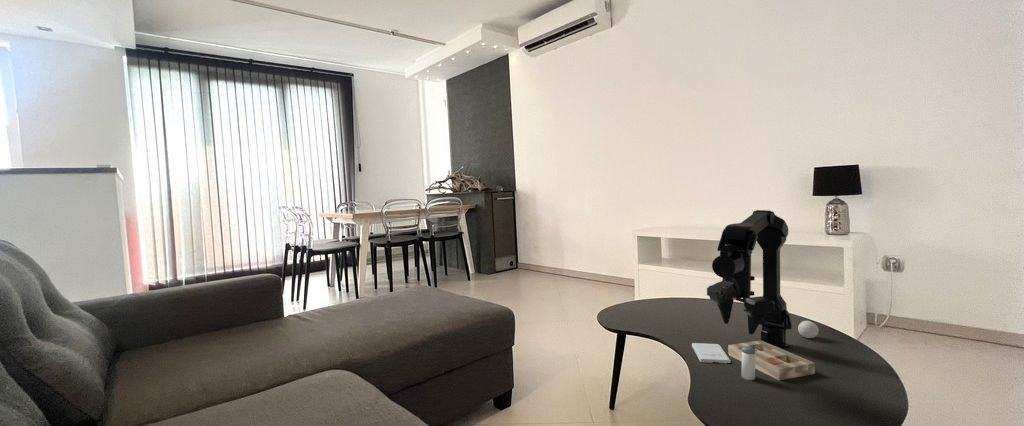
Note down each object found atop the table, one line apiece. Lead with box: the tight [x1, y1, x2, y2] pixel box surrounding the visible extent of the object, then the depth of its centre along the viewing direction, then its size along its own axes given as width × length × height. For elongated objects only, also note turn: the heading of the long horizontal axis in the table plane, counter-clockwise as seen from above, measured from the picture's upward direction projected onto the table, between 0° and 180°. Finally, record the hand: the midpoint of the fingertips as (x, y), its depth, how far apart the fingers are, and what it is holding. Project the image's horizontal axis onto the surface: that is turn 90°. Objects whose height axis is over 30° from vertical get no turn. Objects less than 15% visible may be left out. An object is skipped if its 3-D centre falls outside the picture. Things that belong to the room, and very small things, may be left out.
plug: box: [740, 346, 756, 381], centre depth 117 cm, size 3×3×8 cm
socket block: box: [727, 339, 816, 381], centre depth 126 cm, size 12×18×3 cm, turn 15°
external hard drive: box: [691, 342, 732, 364], centre depth 133 cm, size 2×8×12 cm
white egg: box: [797, 320, 820, 339], centre depth 146 cm, size 8×6×6 cm
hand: (738, 328), depth 119 cm, fingers open, 9 cm apart
